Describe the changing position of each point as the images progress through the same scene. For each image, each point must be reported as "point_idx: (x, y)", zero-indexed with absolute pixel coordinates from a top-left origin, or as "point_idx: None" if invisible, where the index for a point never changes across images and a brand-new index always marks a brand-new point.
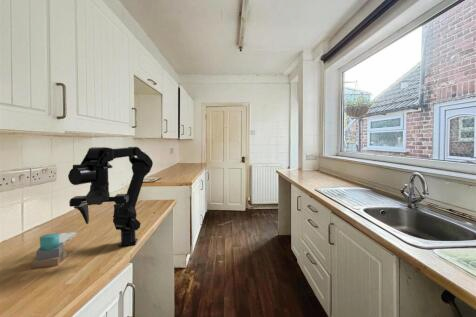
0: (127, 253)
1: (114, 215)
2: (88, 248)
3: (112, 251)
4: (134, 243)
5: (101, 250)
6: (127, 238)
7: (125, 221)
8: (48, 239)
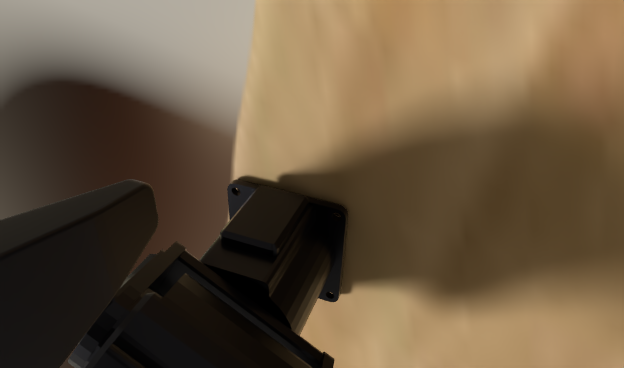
0: (258, 32)
1: (1, 241)
2: (598, 293)
3: (387, 133)
4: (235, 194)
5: (483, 198)
6: (253, 217)
7: (145, 313)
8: None
